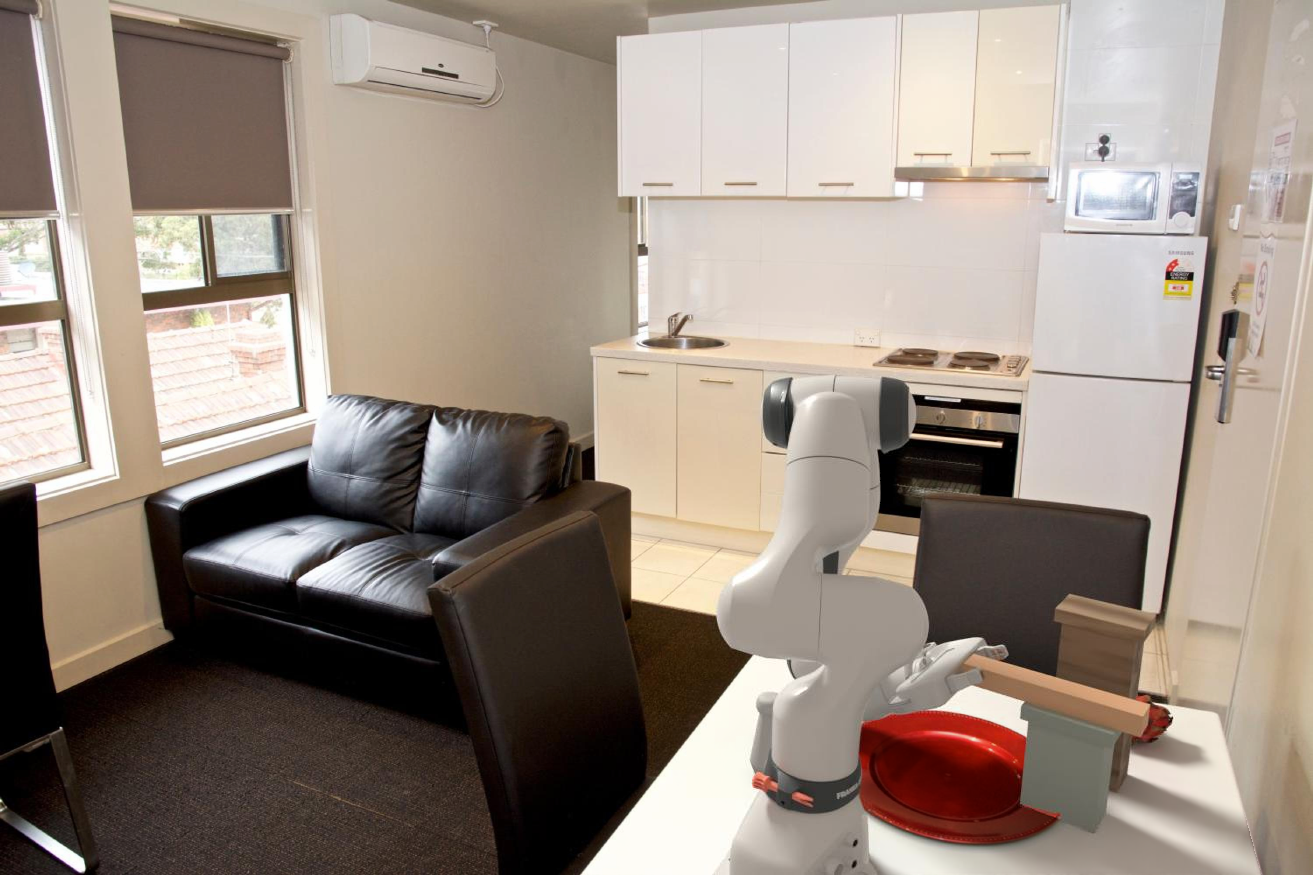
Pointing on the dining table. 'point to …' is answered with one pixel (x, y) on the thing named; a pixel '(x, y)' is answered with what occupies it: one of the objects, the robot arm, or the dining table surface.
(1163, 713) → the dragon fruit
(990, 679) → the bar
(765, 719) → the salt shaker
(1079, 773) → the low stand
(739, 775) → the dining table surface
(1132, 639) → the tall stand
